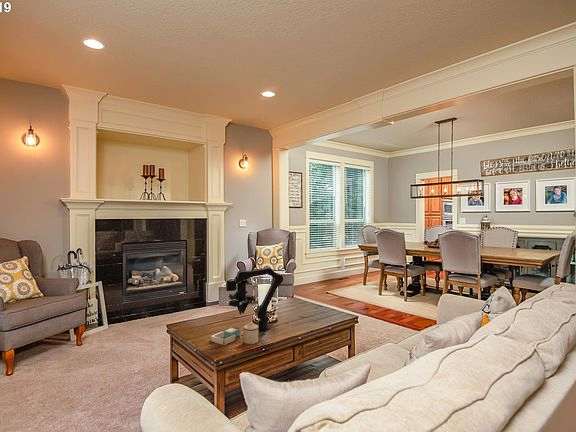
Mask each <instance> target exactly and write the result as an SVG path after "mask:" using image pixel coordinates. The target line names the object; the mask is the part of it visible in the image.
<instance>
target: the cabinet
mask: <svg viewBox="0 0 576 432" xmlns="http://www.w3.org/2000/svg"><path fill="white" fill-rule="evenodd" d="M240 333H241V329H240V327H239V326H234V325H232V326H231V327H230V328H228V329H226V330H224V331H223V338H224V339H225V338H228V337H230V336H232V335H235V338H237V337H240Z"/></svg>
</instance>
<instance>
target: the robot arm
mask: <svg viewBox="0 0 576 432" xmlns="http://www.w3.org/2000/svg"><path fill="white" fill-rule="evenodd" d="M265 275H269V276H270V277H272V278H271V283H270V286H269V289H268V290H267V292H266V295H265V296H264V298H263V301H262V303H261V304H260V305H259V304H258V305H257V306H256V309H254V310H255V312H254V313H255V316H256V317H257V318H258V327H259V328H258V331H262V332H266V331H268V330H270V329H271V328H270V327H269V321H270V317H268V316H267V313H268V309H269V308H268V307H269V305H270V303H271V301H272V299H273V297H274V295H275V292H276V290H277V289H278V288H279V287H280V286H281V284H282V283H283V281H284V276H283V275H282V274H280V273H278V272H275V271H274V270H272V268H271V267H265V268H257V269H252V270H243V269H242V270H238V271H237V272H236V276H234V277H235V278H234V279H233V280H226V281H225V292H233V291H234V292H235V291H236V292H235V293H230V294H229V295H228V298H229V302H228V306H230V307H233V308H234V307H236V308H237V310H238V313H239V315H242V314H245V311H246V310H247V307H248V306H249V304H250V302H253V301H254V300H255V296H253V295H248V291H247V284H249V283H250V282H249V279H250V278H253V277H259V276H265ZM249 300H250V301H249Z"/></svg>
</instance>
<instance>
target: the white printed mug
mask: <svg viewBox="0 0 576 432" xmlns="http://www.w3.org/2000/svg"><path fill="white" fill-rule="evenodd" d="M258 328H259V324H255V323H254V322H252V321H250V322H249V323H247V324H245V325H244V326H243V331H240V336H239V338H240V339H241V340H243V342H244V344H247V345H254V344H257V343H258V342H259V330H258ZM242 335H243V337H242Z"/></svg>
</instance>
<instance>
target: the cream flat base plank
mask: <svg viewBox="0 0 576 432" xmlns="http://www.w3.org/2000/svg"><path fill="white" fill-rule="evenodd" d="M234 341H236V337H235V335H232V336H230V337H228V338H225V337H224V331H219V332H217V333H216V334H213V335H211V336H210V342H212V343H215V344H219V345H223V346H226V345H228V344H230V343H232V342H234Z"/></svg>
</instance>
